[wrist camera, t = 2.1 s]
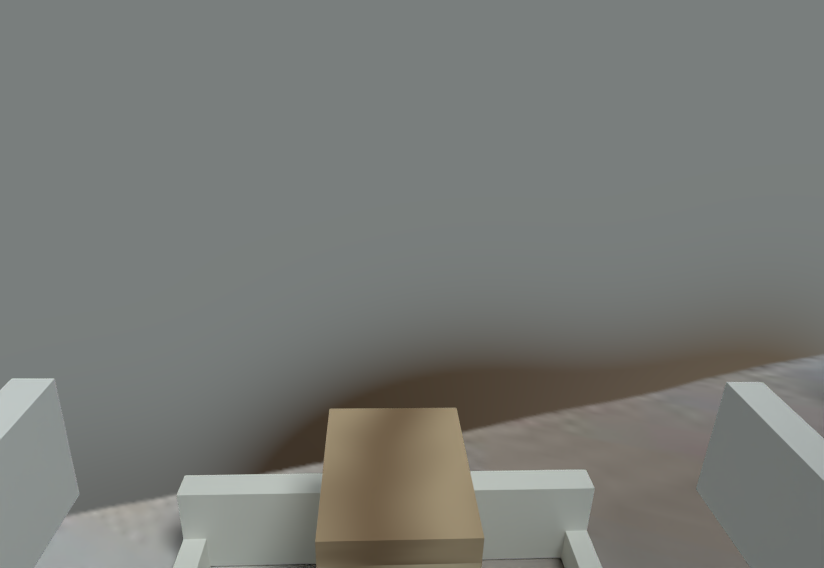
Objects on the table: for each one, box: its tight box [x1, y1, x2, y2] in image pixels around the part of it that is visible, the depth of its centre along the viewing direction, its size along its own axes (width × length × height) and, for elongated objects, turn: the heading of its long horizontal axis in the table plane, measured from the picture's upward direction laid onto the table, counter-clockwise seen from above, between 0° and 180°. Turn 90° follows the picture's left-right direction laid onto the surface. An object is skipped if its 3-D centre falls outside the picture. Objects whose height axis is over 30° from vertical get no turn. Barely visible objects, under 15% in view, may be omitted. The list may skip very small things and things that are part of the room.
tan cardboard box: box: [315, 408, 484, 568], centre depth 28 cm, size 6×8×11 cm
